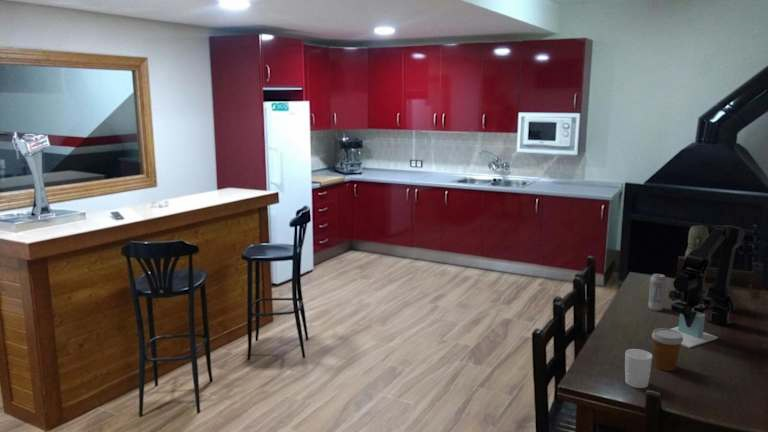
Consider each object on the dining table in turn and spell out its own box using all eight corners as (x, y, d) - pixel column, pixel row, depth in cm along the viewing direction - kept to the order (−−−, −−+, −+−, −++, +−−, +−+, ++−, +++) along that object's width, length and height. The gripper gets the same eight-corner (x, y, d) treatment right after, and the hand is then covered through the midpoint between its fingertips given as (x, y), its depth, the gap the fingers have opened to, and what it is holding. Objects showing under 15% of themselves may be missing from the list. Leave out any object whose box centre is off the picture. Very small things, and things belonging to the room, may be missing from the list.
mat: (682, 326, 228) (683, 324, 228) (717, 338, 216) (717, 336, 216) (655, 334, 220) (655, 333, 220) (689, 348, 208) (689, 346, 208)
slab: (683, 329, 224) (685, 307, 222) (702, 336, 217) (705, 313, 215) (678, 330, 222) (680, 308, 221) (697, 338, 215) (700, 315, 214)
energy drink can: (666, 309, 247) (669, 275, 244) (658, 312, 244) (661, 278, 241) (653, 305, 252) (655, 272, 249) (645, 308, 248) (647, 275, 246)
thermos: (702, 301, 256) (710, 224, 250) (704, 309, 246) (712, 229, 239) (680, 298, 260) (687, 222, 254) (680, 306, 250) (688, 228, 243)
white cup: (618, 378, 187) (620, 349, 185) (641, 376, 187) (644, 348, 185) (630, 389, 179) (633, 360, 177) (655, 388, 180) (657, 358, 178)
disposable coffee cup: (644, 360, 199) (647, 327, 197) (672, 360, 199) (675, 327, 196) (656, 373, 190) (659, 339, 187) (685, 373, 189) (689, 339, 187)
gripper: (690, 277, 227) (686, 315, 230) (659, 285, 218) (656, 324, 221) (717, 285, 218) (713, 324, 221) (687, 293, 209) (683, 334, 212)
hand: (691, 326), depth 219 cm, fingers closed on slab, 3 cm apart
